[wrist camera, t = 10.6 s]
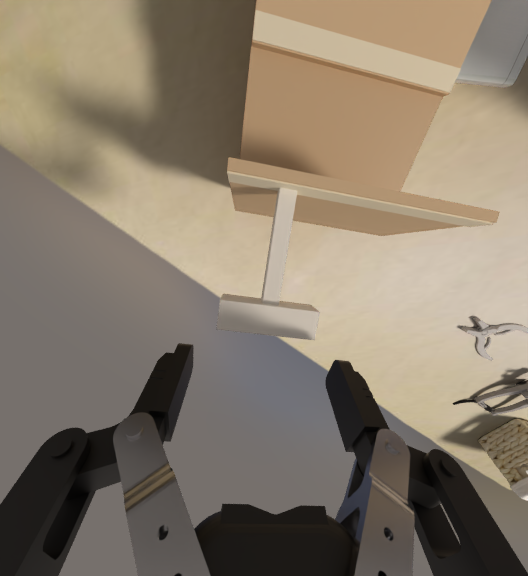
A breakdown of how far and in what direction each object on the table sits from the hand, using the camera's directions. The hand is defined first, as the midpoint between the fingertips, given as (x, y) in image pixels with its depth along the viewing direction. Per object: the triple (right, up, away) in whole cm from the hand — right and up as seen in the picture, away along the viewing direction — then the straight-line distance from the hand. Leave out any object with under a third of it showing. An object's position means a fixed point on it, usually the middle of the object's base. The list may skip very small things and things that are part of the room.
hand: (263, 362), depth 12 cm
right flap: (+6, +11, +5) cm, 13 cm away
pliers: (+48, -5, +34) cm, 59 cm away
